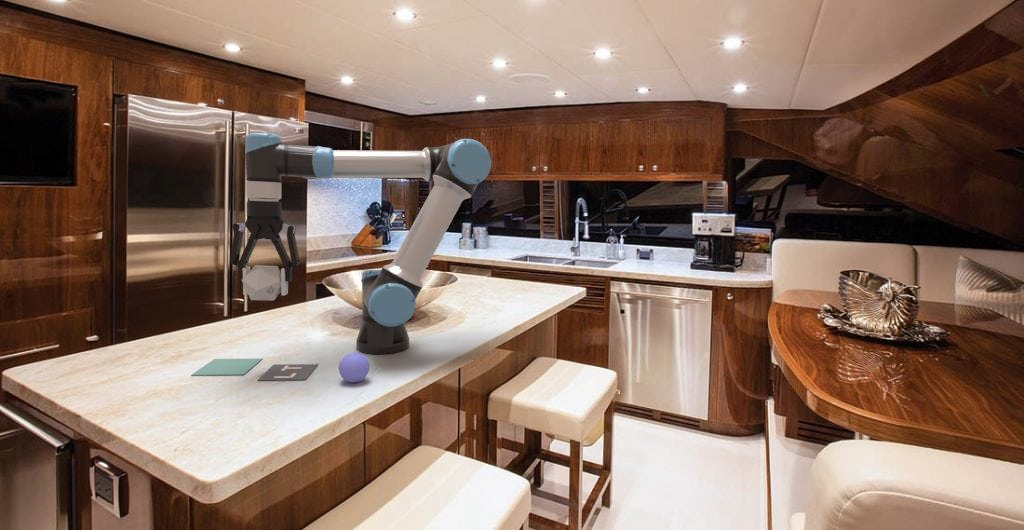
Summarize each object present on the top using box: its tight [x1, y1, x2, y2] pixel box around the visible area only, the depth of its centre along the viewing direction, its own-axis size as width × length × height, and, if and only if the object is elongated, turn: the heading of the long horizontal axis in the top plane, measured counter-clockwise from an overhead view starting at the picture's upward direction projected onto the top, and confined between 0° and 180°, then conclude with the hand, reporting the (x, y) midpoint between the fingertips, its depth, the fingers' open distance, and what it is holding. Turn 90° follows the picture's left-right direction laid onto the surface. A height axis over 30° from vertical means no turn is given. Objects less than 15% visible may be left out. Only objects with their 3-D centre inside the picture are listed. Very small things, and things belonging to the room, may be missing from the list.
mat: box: [190, 357, 263, 377], centre depth 128 cm, size 12×12×1 cm
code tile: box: [256, 363, 318, 382], centre depth 125 cm, size 11×11×1 cm
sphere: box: [338, 352, 370, 383], centre depth 121 cm, size 7×7×7 cm
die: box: [241, 265, 281, 301], centre depth 123 cm, size 8×9×10 cm
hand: (265, 294), depth 123 cm, fingers closed on die, 8 cm apart
